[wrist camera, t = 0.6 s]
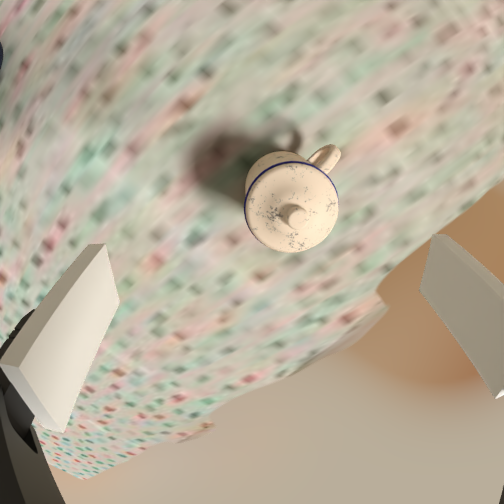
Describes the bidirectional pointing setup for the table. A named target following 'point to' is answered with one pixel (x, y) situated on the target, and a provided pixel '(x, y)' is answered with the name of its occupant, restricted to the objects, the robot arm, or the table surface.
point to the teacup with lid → (292, 199)
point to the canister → (1, 55)
